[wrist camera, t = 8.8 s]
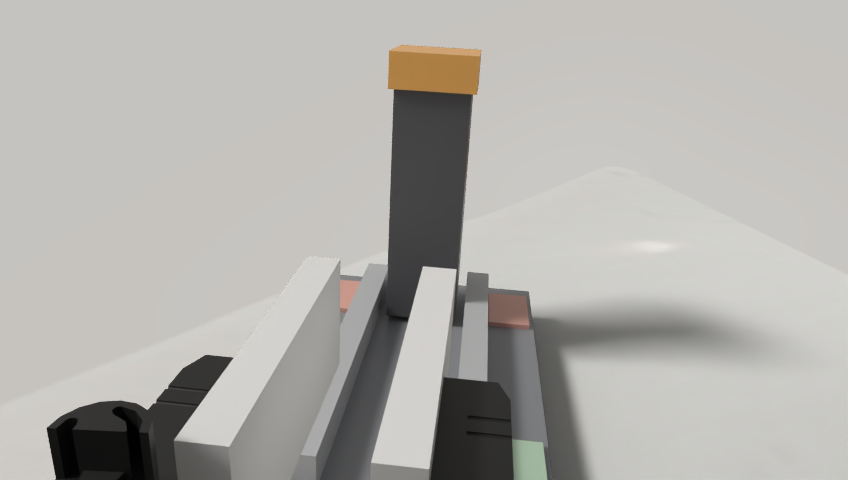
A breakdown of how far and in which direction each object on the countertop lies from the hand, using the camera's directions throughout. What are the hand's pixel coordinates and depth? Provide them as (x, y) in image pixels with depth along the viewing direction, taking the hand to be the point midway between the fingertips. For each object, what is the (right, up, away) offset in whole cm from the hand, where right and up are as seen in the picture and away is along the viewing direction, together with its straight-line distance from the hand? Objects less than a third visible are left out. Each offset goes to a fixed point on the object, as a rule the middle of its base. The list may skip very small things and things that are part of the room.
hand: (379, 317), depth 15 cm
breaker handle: (+1, -1, +15) cm, 15 cm away
